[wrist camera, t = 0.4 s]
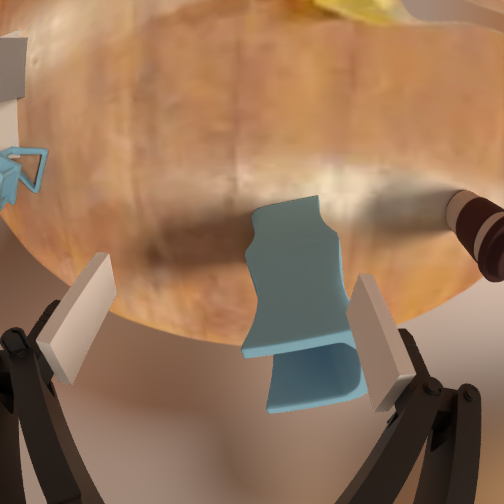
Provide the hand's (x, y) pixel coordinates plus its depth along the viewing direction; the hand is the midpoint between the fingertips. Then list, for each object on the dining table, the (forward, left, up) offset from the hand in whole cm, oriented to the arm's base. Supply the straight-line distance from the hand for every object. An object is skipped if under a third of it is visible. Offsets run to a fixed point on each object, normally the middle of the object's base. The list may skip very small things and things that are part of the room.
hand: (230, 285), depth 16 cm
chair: (+1, -36, -27) cm, 45 cm away
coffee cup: (+2, +35, -27) cm, 45 cm away
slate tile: (-15, -36, -27) cm, 48 cm away
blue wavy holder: (+10, +7, -27) cm, 30 cm away
